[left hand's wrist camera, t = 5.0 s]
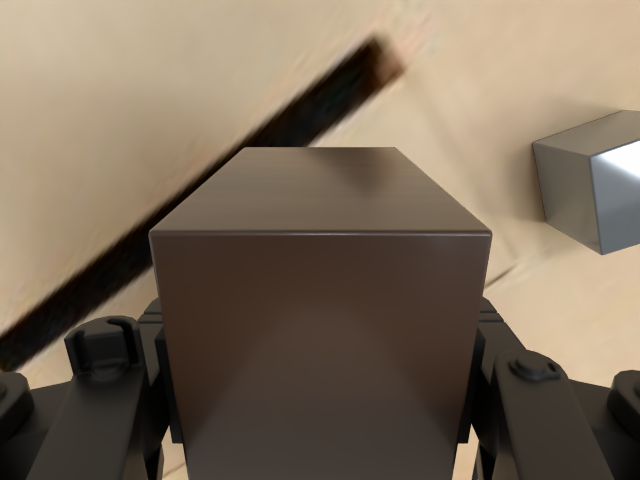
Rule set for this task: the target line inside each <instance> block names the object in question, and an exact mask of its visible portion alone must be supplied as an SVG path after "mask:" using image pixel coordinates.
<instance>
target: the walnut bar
mask: <svg viewBox="0 0 640 480" xmlns="http://www.w3.org/2000/svg"><path fill="white" fill-rule="evenodd" d="M149 241H150V247H151V254H152V260H153V266H154V272H155V278H156V284H157V290H158V296H159V302H160V308H161V314H162V320H163V327H164V333H165V339H166V345H167V351H168V357H169V363H170V369H171V375H172V381H173V387H174V393H175V400H176V406H177V412H178V418H179V424H180V430H181V436H182V442H183V448H184V454H185V460H186V466H187V473H188V479H189V480H452V476H453V470H454V464H455V458H456V452H457V446H458V440H459V434H460V428H461V422H462V416H463V410H464V404H465V398H466V392H467V386H468V380H469V374H470V368H471V361H472V355H473V349H474V343H475V337H476V331H477V325H478V319H479V313H480V307H481V301H482V295H483V289H484V283H485V277H486V271H487V265H488V259H489V253H490V247H491V241H492V231H491V230H490V229H489V228H487V227H486V226H485V225H484V224H483V223H482V222H481V221H479V220H478V219H477V218H476V217H475V216H474V215H473V214H471V213H470V212H469V211H468V210H467V209H466V208H464V207H463V206H462V205H461V204H460V203H459V202H458V201H456V200H455V199H454V198H453V197H452V196H451V195H450V194H448V193H447V192H446V191H445V190H444V189H443V188H441V187H440V186H439V185H438V184H437V183H436V182H435V181H433V180H432V179H431V178H430V177H429V176H428V175H427V174H425V173H424V172H423V171H422V170H421V169H420V168H418V167H417V166H416V165H415V164H414V163H413V162H412V161H410V160H409V159H408V158H407V157H406V156H405V155H404V154H402V153H401V152H400V151H399V150H398V149H397V148H395V147H245V148H243V149H242V150H241V151H240V152H239V153H238V154H237V155H236V156H234V157H233V158H232V159H231V160H230V161H229V162H228V163H226V164H225V165H224V166H223V167H222V168H221V169H220V170H218V171H217V172H216V173H215V174H214V175H213V176H212V177H210V178H209V179H208V180H207V181H206V182H205V183H204V184H202V185H201V186H200V187H199V188H198V189H197V190H196V191H194V192H193V193H192V194H191V195H190V196H189V197H188V198H186V199H185V200H184V201H183V202H182V203H181V204H180V205H178V206H177V207H176V208H175V209H174V210H173V211H172V212H171V213H169V214H168V215H167V216H166V217H165V218H164V219H163V220H161V221H160V222H159V223H158V224H157V225H156V226H155V227H153V228H152V229H151V230H150V231H149Z"/></svg>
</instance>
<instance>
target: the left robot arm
mask: <svg viewBox="0 0 640 480" xmlns="http://www.w3.org/2000/svg"><path fill="white" fill-rule="evenodd" d="M64 342H65V345H66V349H67V353H68V356H69V360H70V364H71V367H72V371H73V377H72V379H71V381H68V382H65V383H61V384H56V385H51V386H46V387H41V388H37V389H32V390H30V387H29V384H28V381H27V378H26V377H24V376H23V375H22V374H21V373H15V372H3V373H0V480H162V474H163V465H164V455H163V449H162V443H161V442H162V440H163V438H164V435H165V433H166V431H167V428H168V426H170V432H171V438H172V443H183V442H182V436H181V430H180V424H179V418H178V412H177V406H176V400H175V393H174V387H173V381H172V375H171V369H170V363H169V357H168V351H167V345H166V339H165V333H164V327H163V320H162V314H161V308H160V302H159V297H158V298H157V299H155V300H154V301H152V302H151V304H150V305H149V306H148V307H147V309H146V310H145V311H144V315H141V317H140V318H139V319H138V321H136V320H135V319H133V318H131V317H127V316H107V317H103V318H98V319H94V320H92V321H89V322H87V323H84V324H82V325H80V326H78V327H77V328H75V329H74V330H72V331H71V332H70V333H69V334H68V335H67V336H66V337H65V338H64ZM471 423H472V426H473V428H474V430H475V433H476V435H477V437H478V439H479V443H478V449H477V454H476V459H475V464H474V470H473V475H472V480H640V371H636V370H628V371H621V372H619V373H618V374H617V375H616V376H614V379H613V382H612V386H611V388H607V387H603V386H598V385H593V384H588V383H583V382H578V381H575V380H571V379H568V376H567V374H566V373H565V372H564V370H563V369H562V368H561V366H560V365H558V364H557V363H556V362H554V361H553V360H552V359H550V358H548V357H546V356H544V355H542V354H539V353H537V352H534V351H530V350H526V348H525V347H524V346H523V344H522V343H521V342H520V341H519V339H518V338H517V337H516V335H515V334H514V333H513V331H512V330H511V329H510V328H509V326H508V325H507V324H506V322H504V320H503V318H502V317H501V316H500V315H499V313H497V311H496V309H495V308H494V307H493V305H492V304H491V303H490V302H489V300H487V299H486V298H484V297H483V296H482V301H481V307H480V313H479V319H478V325H477V331H476V337H475V343H474V349H473V355H472V361H471V368H470V374H469V380H468V386H467V392H466V398H465V404H464V410H463V416H462V422H461V428H460V434H459V440H458V443H468V439H469V434H470V428H471Z"/></svg>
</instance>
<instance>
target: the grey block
mask: <svg viewBox="0 0 640 480" xmlns="http://www.w3.org/2000/svg"><path fill="white" fill-rule="evenodd" d="M533 149H534V155H535V160H536V166H537V172H538V177H539V183H540V189H541V194H542V200H543V206H544V211H545V217H546V222H547V224H549V225H550V226H552V227H554V228H556V229H557V230H559V231H561V232H562V233H564V234H566V235H568V236H569V237H571V238H573V239H574V240H576V241H578V242H580V243H581V244H583V245H585V246H586V247H588V248H590V249H592V250H593V251H595V252H597V253H598V254H600V255H605V254H609V253H612V252H615V251H618V250H621V249H625V248H628V247H631V246H634V245H637V244H640V111H629V110H624V111H621V112H618V113H615V114H612V115H609V116H606V117H604V118H601V119H598V120H595V121H592V122H589V123H586V124H584V125H581V126H578V127H575V128H572V129H569V130H567V131H564V132H561V133H558V134H555V135H552V136H549V137H547V138H544V139H541V140H538V141H535V142H533Z"/></svg>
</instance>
